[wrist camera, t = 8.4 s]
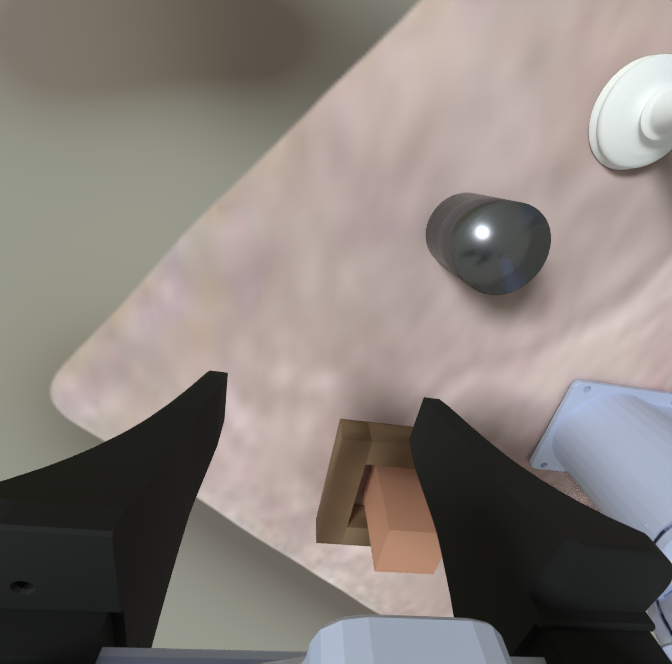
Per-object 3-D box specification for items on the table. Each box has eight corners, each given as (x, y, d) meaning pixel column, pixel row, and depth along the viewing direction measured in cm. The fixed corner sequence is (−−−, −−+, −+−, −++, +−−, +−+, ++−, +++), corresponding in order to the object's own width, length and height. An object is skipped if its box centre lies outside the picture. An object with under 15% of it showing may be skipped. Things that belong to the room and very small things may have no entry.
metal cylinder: (507, 200, 19) (566, 212, 15) (481, 271, 21) (527, 301, 17) (438, 186, 19) (478, 193, 14) (417, 259, 21) (446, 287, 16)
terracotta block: (424, 460, 27) (452, 534, 22) (410, 497, 29) (433, 574, 24) (374, 455, 27) (389, 529, 21) (362, 493, 28) (374, 571, 23)
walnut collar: (478, 434, 26) (490, 454, 25) (435, 528, 31) (443, 550, 29) (340, 418, 25) (342, 438, 23) (316, 519, 29) (316, 542, 28)
